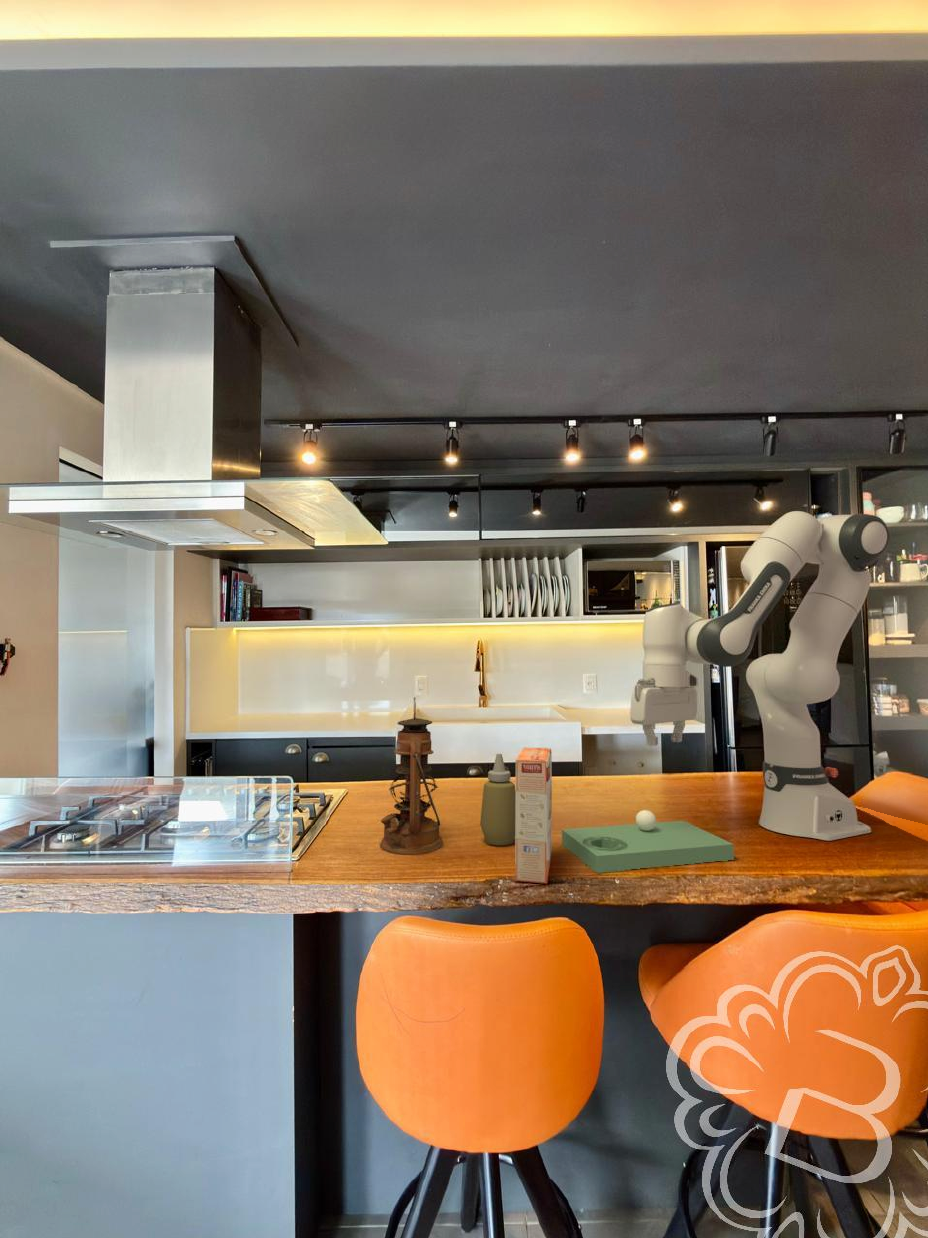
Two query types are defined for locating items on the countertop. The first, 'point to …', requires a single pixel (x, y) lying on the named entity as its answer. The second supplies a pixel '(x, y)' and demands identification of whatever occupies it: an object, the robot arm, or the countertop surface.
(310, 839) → the countertop surface
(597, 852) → the putting board
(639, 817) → the ball
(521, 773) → the cracker box
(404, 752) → the lantern
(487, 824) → the squeeze bottle
